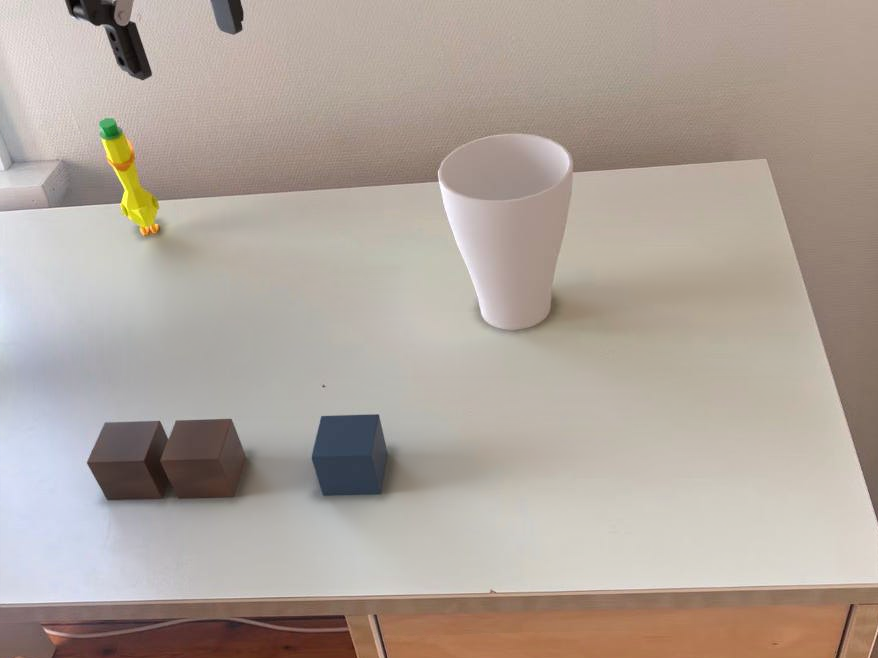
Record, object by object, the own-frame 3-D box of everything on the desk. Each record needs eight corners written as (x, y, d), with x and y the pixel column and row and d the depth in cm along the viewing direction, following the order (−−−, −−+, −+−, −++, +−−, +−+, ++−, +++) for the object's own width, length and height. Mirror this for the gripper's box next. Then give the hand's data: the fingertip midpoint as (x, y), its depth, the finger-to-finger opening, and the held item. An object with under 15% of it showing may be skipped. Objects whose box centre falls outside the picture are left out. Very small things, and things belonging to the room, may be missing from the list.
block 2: (179, 502, 74) (159, 461, 70) (193, 461, 76) (175, 419, 73) (235, 501, 73) (218, 459, 70) (247, 460, 76) (231, 418, 73)
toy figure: (132, 220, 101) (86, 106, 92) (165, 212, 102) (123, 98, 93) (136, 254, 97) (88, 137, 88) (171, 245, 98) (128, 128, 88)
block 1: (109, 504, 74) (86, 462, 71) (125, 463, 77) (104, 422, 74) (164, 502, 74) (143, 461, 70) (179, 462, 76) (160, 420, 73)
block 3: (323, 499, 72) (310, 457, 69) (332, 458, 75) (320, 415, 72) (381, 498, 72) (371, 455, 69) (388, 456, 75) (379, 413, 71)
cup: (469, 360, 81) (451, 213, 71) (446, 290, 88) (426, 147, 78) (590, 335, 82) (589, 186, 72) (558, 268, 89) (553, 123, 79)
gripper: (158, -256, 64) (228, 9, 76) (-33, -198, 57) (77, 80, 70) (231, -249, 60) (292, 27, 73) (37, -186, 54) (139, 105, 66)
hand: (186, 53), depth 71 cm, fingers open, 8 cm apart
